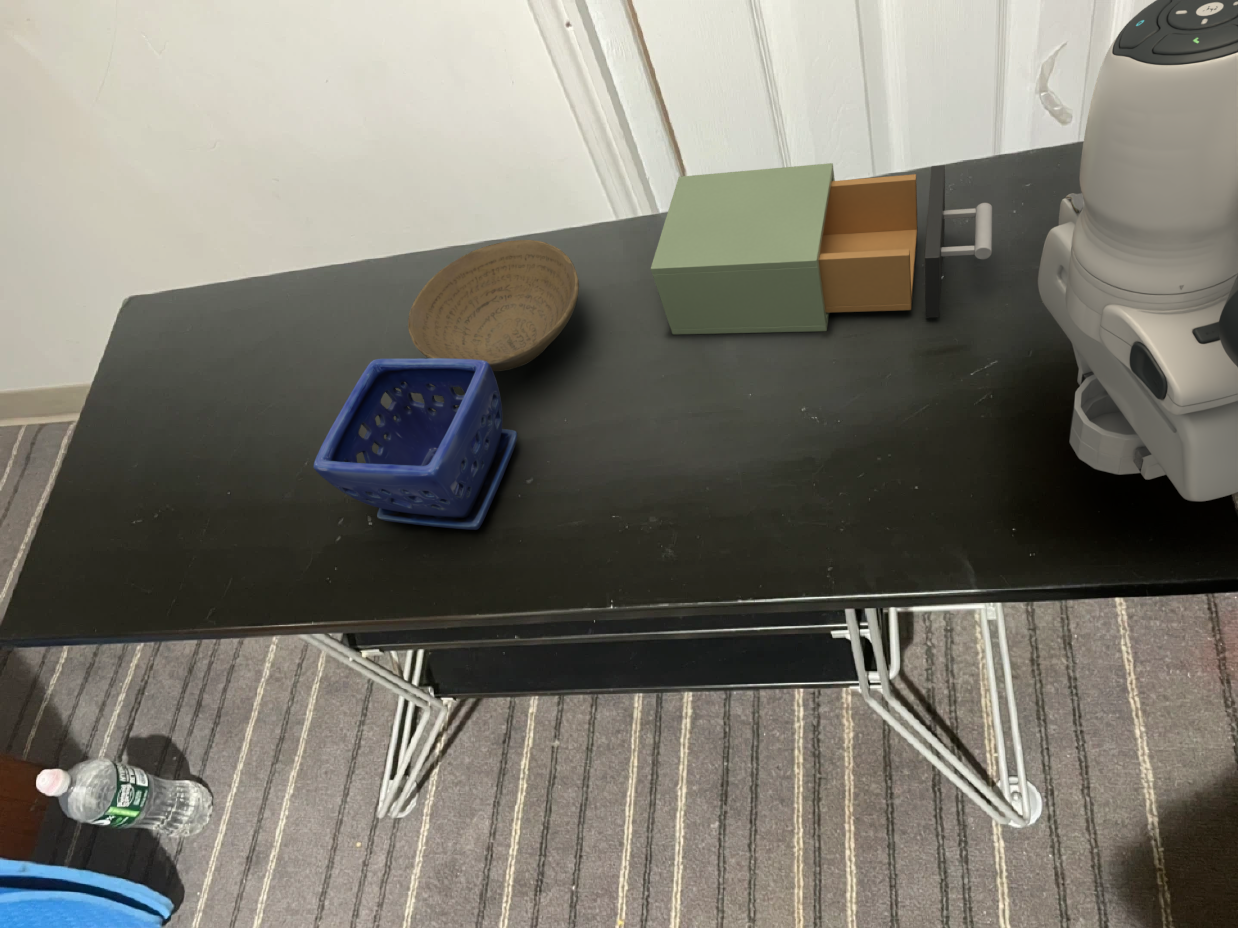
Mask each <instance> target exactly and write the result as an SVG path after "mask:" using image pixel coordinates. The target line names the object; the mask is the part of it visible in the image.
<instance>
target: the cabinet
mask: <svg viewBox="0 0 1238 928" xmlns="http://www.w3.org/2000/svg"><path fill="white" fill-rule="evenodd" d="M832 181H836V179H835V171H834V163H833V162H829V163H818V164H806V165H796V166H794V165H793V166H786V167H785V166H784V167H772V168H762V169H751V170H739V171H728V172H716V173H706V174H705V173H704V174H695V175H681V176H678V178H677V181H676V184H675V188H674V191H673V194H672V198H671V202H670V204H669V207H668V211H667V214H666V217H665V220H664V224H663V226H662V230H661V233H660V237H659V239H658V243H657V247H656V250H655V252H654V256H653V259H652V262H651V266H650V271H651V274H652V278H653V281H654V285H655V286H656V289H657V292H658V295H659V298H660V301H661V304H662V307H663V310H664V313H665V316H666V319H667V323H668V325H669V329H670V331H671V334H672V335H712V334H713V335H715V334H754V333H755V334H759V333H761V334H762V333H802V332H804V333H805V332H810V333H811V332H827V331H828V325H829V319H830V318H829V317H830V312H828V313H826V311H825V304H824V296H823V289H822V282H821V275H820V268H819V262H818V261H819V255H820V249H821V243H822V236H823V230H824V224H825V218H826V212H827V206H828V200H829V194H830V188H831V182H832Z"/></svg>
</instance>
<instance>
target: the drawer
mask: <svg viewBox="0 0 1238 928" xmlns="http://www.w3.org/2000/svg"><path fill="white" fill-rule="evenodd" d="M917 185H918V184H917V174H916V173H913V174H901V175H890V176H878V177H866V178H865V177H863V178H854V179H842V180H841V179H839V180H835V181H832V182H831V188H830V194H829V200H828V206H827V212H826V218H825V224H824V230H823V236H822V243H821V249H820V255H819V261H818V262H819V268H820V275H821V282H822V289H823V296H824V304H825V311H826V313H828V312H829V313H854V312H855V313H856V312H893V311H896V312H897V311H912V303H913V294H914V293H913V291H914V279H915V270H916V269H915V267H916V257H917V255H916V254H917V242H918V192H917V191H918V190H917ZM928 193H929V194H928V205H927V219H926V234H925V249H924V299H925V302H924V303H925V304H924V305H925V306H924V307H925V318H940V316H941V315H940V313H941V297H942V296H941V295H942V281H943V279H942V278H943V264H944V263H943V262H944V257H957V256H975V258H976V259H979V260H986V259H989V258H990V257H991V255H992V252H993V251H992V250H993V249H992V248H993V206H992V205H991V204H990V203H988V202H982V203H979V204H978V205H977V206H976V207H973V208H962V209H961V208H960V209H959V208H958V209H946V204H945V203H946V165H945V164H943V165H932V166H931V167H930V179H929V192H928ZM969 218H975V221H974V222H975V223H974V245H958V246H945V245H944V244H945V225H946V220H954V219H969Z"/></svg>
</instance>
